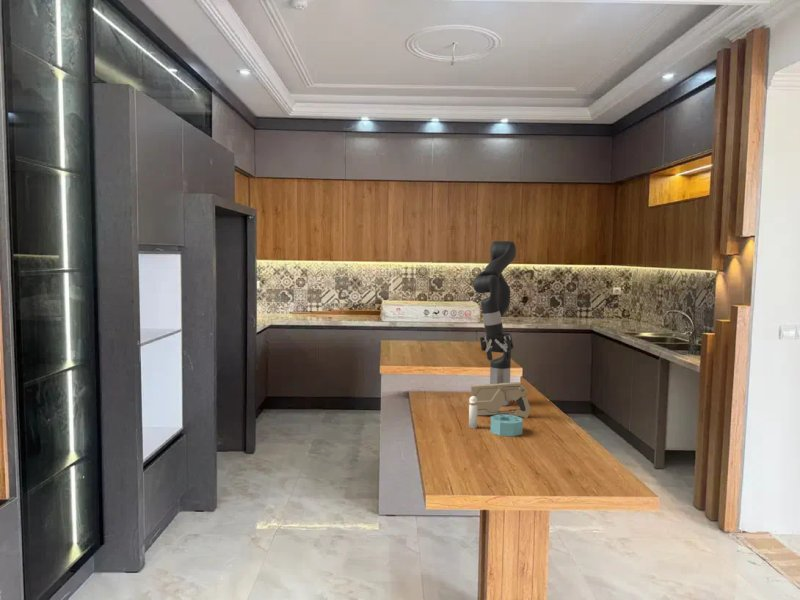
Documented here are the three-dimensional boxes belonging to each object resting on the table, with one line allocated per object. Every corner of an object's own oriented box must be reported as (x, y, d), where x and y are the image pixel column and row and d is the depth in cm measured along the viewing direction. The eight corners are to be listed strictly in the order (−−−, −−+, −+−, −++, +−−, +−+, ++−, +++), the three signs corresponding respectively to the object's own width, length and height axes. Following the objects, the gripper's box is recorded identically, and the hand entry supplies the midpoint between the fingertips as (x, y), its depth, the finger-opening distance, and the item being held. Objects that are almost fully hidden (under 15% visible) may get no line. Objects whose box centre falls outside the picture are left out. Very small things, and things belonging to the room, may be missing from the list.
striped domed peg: (468, 425, 229) (469, 394, 228) (477, 426, 228) (477, 395, 227) (468, 428, 225) (469, 396, 224) (476, 428, 225) (477, 397, 224)
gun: (530, 415, 244) (528, 381, 243) (531, 418, 241) (529, 383, 240) (473, 418, 247) (470, 384, 246) (473, 420, 243) (471, 386, 242)
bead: (490, 426, 229) (490, 413, 228) (521, 427, 227) (521, 415, 226) (490, 435, 217) (490, 422, 216) (522, 437, 215) (523, 424, 214)
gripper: (512, 319, 237) (518, 357, 238) (483, 321, 246) (489, 357, 248) (503, 323, 231) (509, 362, 233) (473, 325, 240) (480, 362, 242)
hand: (499, 360), depth 240 cm, fingers open, 8 cm apart
